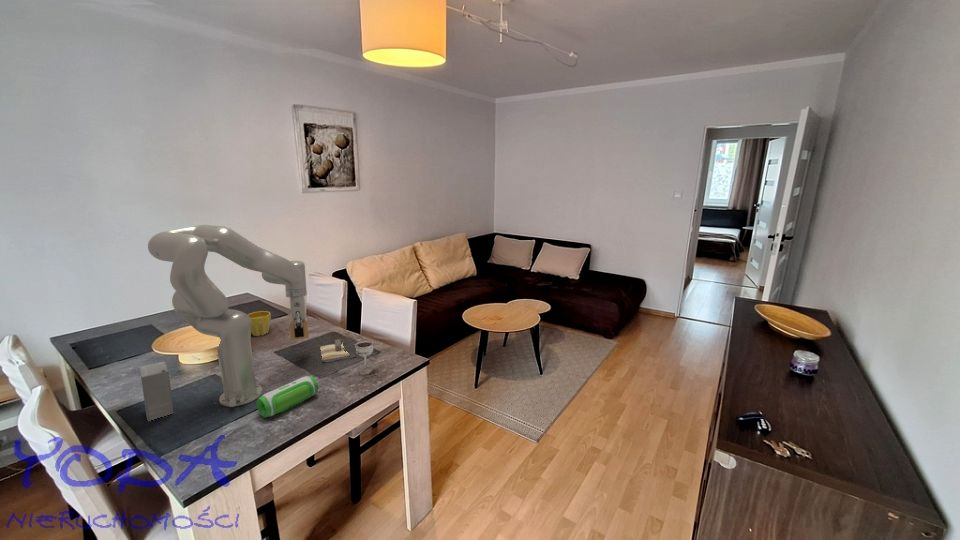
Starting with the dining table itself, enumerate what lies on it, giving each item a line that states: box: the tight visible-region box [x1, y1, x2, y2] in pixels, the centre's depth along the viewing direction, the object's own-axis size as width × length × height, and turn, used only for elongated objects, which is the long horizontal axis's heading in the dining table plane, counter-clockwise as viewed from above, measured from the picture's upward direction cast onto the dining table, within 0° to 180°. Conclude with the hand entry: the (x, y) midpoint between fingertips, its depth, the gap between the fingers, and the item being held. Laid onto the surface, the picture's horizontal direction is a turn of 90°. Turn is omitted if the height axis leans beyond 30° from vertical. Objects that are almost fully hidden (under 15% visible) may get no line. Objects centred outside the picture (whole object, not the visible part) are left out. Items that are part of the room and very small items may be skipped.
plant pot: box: [247, 310, 272, 337], centre depth 179 cm, size 10×10×10 cm
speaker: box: [256, 375, 319, 418], centre depth 124 cm, size 18×7×8 cm, turn 145°
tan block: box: [289, 316, 309, 341], centre depth 152 cm, size 6×6×7 cm
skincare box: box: [139, 360, 174, 422], centre depth 117 cm, size 8×7×16 cm
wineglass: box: [354, 339, 374, 369], centre depth 146 cm, size 7×7×12 cm
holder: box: [319, 338, 350, 362], centre depth 161 cm, size 14×14×6 cm
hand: (299, 333), depth 152 cm, fingers closed on tan block, 6 cm apart
